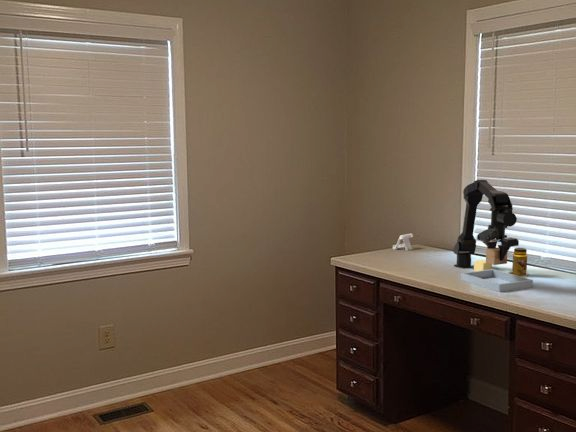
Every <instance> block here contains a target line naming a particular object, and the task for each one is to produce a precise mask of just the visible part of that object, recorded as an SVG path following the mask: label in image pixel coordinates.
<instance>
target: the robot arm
mask: <svg viewBox="0 0 576 432" xmlns="http://www.w3.org/2000/svg"><path fill="white" fill-rule="evenodd" d="M462 191H463V192H462V193H463V200H464V201H465V203H466V204H465V210H464V216H463V217H464V219H463V225H462V232H461V234H460V235H459V236H458V237H457V240H456V243H455V245H454V247H453V249H452V250H453V251H452V252H453V254H455V255H456V264H454V265H453V267H458V268H460V269H467V268H474V265H472V255H475V253H476V248H477V240H478V241H480V242H482V243H483V244H484V245H486V247H487V248H486V249H489V248H498V247H499V249H500V261H503V259H504V257H505V255H506V253H507V254H508V252H509V250H510V249H511V247H515V246H516V247H518V246H519V245H520V244H519V242H520V241H519V239H518V238H516V237H508V235H507V234H506V229H508V227H513V226H515V224H516V223H517V219H518V218H517V216H516V214H515V213H513V209H514V208H513V203H512V201H511V198H510V196H509V194H508V193H507V192H505V191H502V190H497V189H496V188H495V187H494V186H493V185H492V184H490V183H489V181H488V180H486V179H477V180H474V181H473V182H471V183H469V184H467V185H466V186H465V187H464V188H463V190H462ZM483 196H485V197H486V198H487V199H488V200H487V201H488V204H489V205H490V208H489V211H490V213H491V214H490V217H491V218H490V224H488V227H487V229H484V230H482V231H481V232H479V233H478V234H477V235H476V239H475V237H474V231H475V230H474V229H475V222H476V218H477V217H476V215H477V211H478V210H477V208H478V205H480V203H481V202H482V201H483ZM498 243H500V244H498Z"/></svg>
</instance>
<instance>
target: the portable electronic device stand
mask: <svg viewBox="0 0 576 432" xmlns="http://www.w3.org/2000/svg"><path fill="white" fill-rule="evenodd" d="M413 237H414V234H413V233H406V234H401V235H399V238H398V239H397V242H396V244H393V245H392V250H399V249H404V248H405V249H404V250H405V251H407V252H408V251H409V250H410V251H412V250H413V247H412V245H411V241H410V238H413ZM401 240H402V241H403V243H401Z"/></svg>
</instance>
